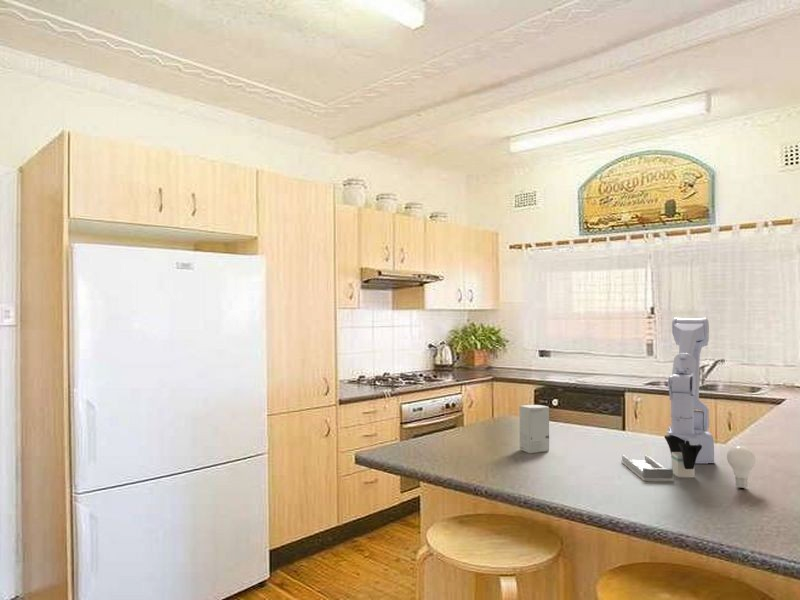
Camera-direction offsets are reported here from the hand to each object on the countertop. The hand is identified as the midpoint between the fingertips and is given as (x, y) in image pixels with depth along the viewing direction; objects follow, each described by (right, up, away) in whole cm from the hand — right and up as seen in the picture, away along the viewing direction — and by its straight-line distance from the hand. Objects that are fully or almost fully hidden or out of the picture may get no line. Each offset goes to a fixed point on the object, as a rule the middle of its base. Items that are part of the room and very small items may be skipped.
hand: (682, 464), depth 154 cm
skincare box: (-35, -4, +27) cm, 45 cm away
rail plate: (-9, -3, +4) cm, 10 cm away
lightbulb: (+9, -3, -12) cm, 15 cm away
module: (0, -3, 0) cm, 3 cm away
